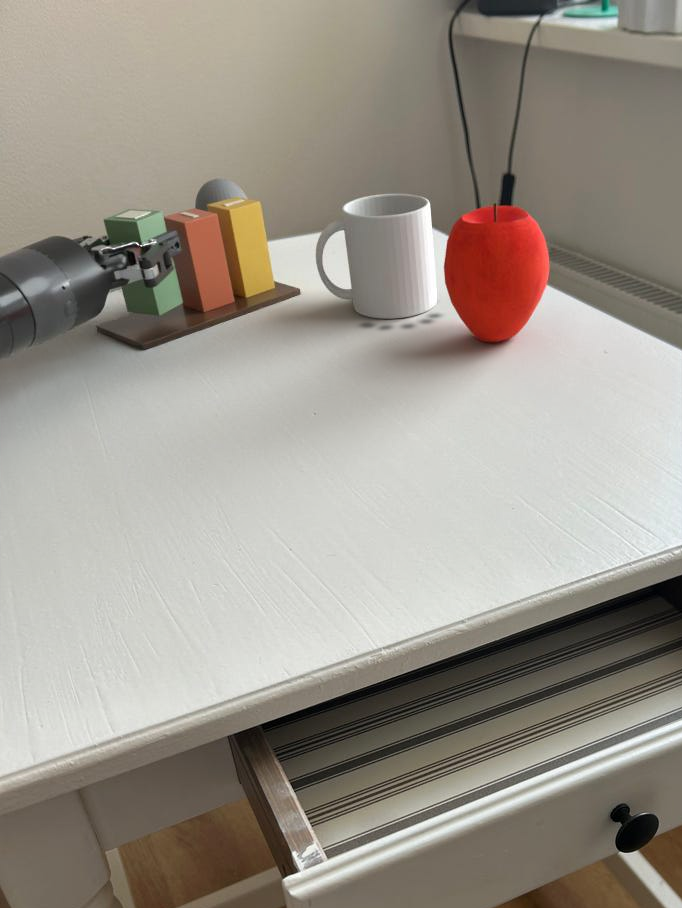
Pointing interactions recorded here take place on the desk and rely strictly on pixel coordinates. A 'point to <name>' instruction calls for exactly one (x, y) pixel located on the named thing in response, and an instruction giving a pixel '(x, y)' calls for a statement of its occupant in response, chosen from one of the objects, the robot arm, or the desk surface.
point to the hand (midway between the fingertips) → (157, 239)
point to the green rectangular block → (139, 229)
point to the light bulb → (217, 193)
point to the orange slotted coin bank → (200, 260)
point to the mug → (386, 255)
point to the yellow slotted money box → (244, 245)
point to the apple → (496, 270)
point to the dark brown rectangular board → (187, 318)
